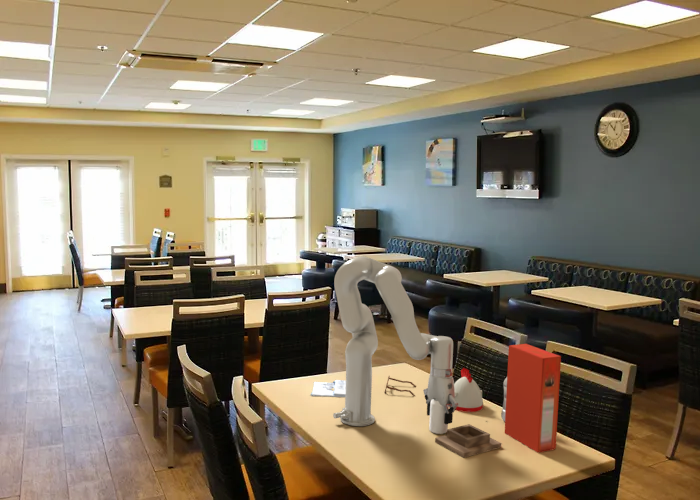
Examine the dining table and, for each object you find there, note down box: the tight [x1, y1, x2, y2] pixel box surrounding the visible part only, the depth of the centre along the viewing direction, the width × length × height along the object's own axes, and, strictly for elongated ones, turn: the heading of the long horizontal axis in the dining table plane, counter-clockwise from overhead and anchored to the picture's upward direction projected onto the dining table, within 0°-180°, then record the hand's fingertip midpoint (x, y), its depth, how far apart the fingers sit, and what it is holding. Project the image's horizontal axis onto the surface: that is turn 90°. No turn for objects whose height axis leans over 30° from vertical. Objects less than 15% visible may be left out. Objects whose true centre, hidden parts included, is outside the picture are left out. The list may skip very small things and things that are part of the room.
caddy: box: [434, 424, 502, 458], centre depth 207 cm, size 17×14×4 cm
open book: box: [310, 379, 346, 398], centre depth 261 cm, size 19×20×2 cm
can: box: [428, 398, 449, 435], centre depth 218 cm, size 6×6×12 cm
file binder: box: [504, 343, 562, 453], centre depth 211 cm, size 8×17×32 cm, turn 23°
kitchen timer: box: [454, 367, 484, 413], centre depth 245 cm, size 14×14×15 cm
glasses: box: [384, 375, 417, 397], centre depth 262 cm, size 13×13×5 cm
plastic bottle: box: [501, 376, 507, 422], centre depth 229 cm, size 6×7×20 cm
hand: (439, 418), depth 218 cm, fingers open, 9 cm apart
